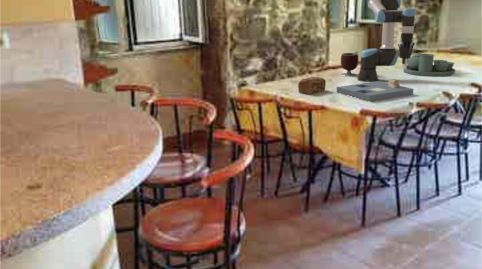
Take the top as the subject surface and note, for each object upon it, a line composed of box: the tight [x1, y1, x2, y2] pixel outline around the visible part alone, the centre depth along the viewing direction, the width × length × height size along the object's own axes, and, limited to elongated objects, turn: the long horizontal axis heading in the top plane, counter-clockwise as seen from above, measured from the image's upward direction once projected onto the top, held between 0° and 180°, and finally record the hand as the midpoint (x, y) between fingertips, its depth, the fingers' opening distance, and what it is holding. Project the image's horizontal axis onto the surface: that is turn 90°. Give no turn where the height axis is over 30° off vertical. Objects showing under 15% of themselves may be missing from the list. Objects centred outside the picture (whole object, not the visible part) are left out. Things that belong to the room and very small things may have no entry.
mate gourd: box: [340, 51, 359, 77], centre depth 385 cm, size 16×14×20 cm
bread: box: [297, 76, 327, 95], centre depth 328 cm, size 19×11×10 cm, turn 134°
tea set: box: [402, 51, 456, 77], centre depth 393 cm, size 40×40×16 cm
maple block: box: [387, 78, 401, 88], centre depth 320 cm, size 5×5×5 cm
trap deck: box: [336, 80, 414, 102], centre depth 319 cm, size 38×32×4 cm
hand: (404, 68), depth 320 cm, fingers closed
